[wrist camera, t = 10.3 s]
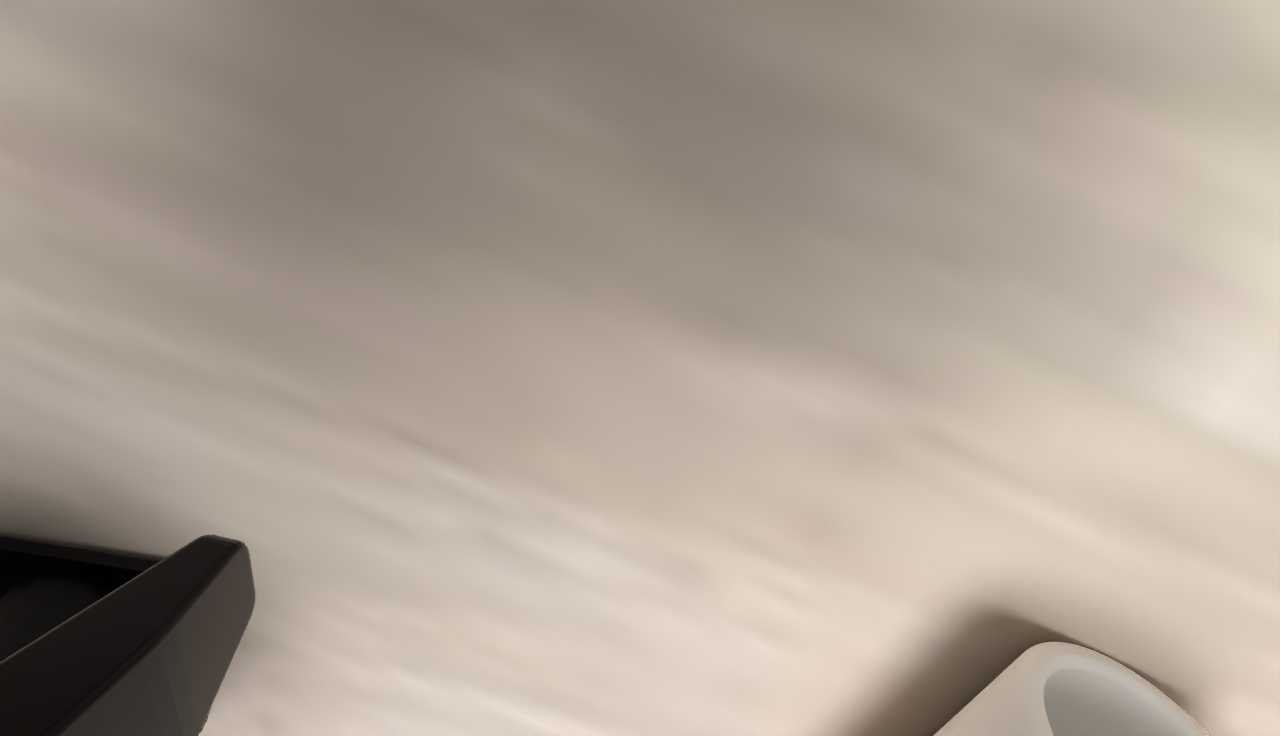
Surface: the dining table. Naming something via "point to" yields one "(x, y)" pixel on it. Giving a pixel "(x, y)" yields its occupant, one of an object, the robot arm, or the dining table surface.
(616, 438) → the dining table surface
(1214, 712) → the dining table surface
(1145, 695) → the mug
